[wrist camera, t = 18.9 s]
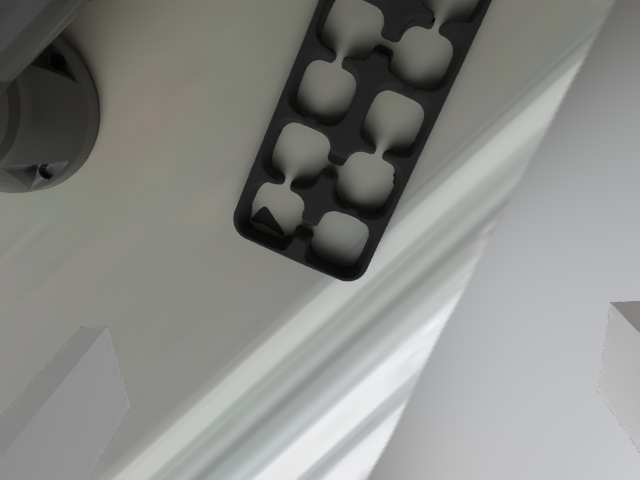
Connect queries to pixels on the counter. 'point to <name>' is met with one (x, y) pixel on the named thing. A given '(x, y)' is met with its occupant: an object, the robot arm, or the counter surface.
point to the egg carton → (350, 133)
